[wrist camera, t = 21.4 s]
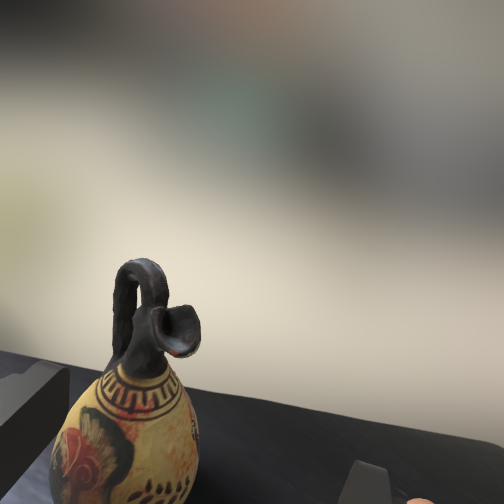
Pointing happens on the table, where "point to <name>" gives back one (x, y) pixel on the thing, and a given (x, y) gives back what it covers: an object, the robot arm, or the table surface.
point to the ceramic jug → (134, 406)
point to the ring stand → (419, 501)
